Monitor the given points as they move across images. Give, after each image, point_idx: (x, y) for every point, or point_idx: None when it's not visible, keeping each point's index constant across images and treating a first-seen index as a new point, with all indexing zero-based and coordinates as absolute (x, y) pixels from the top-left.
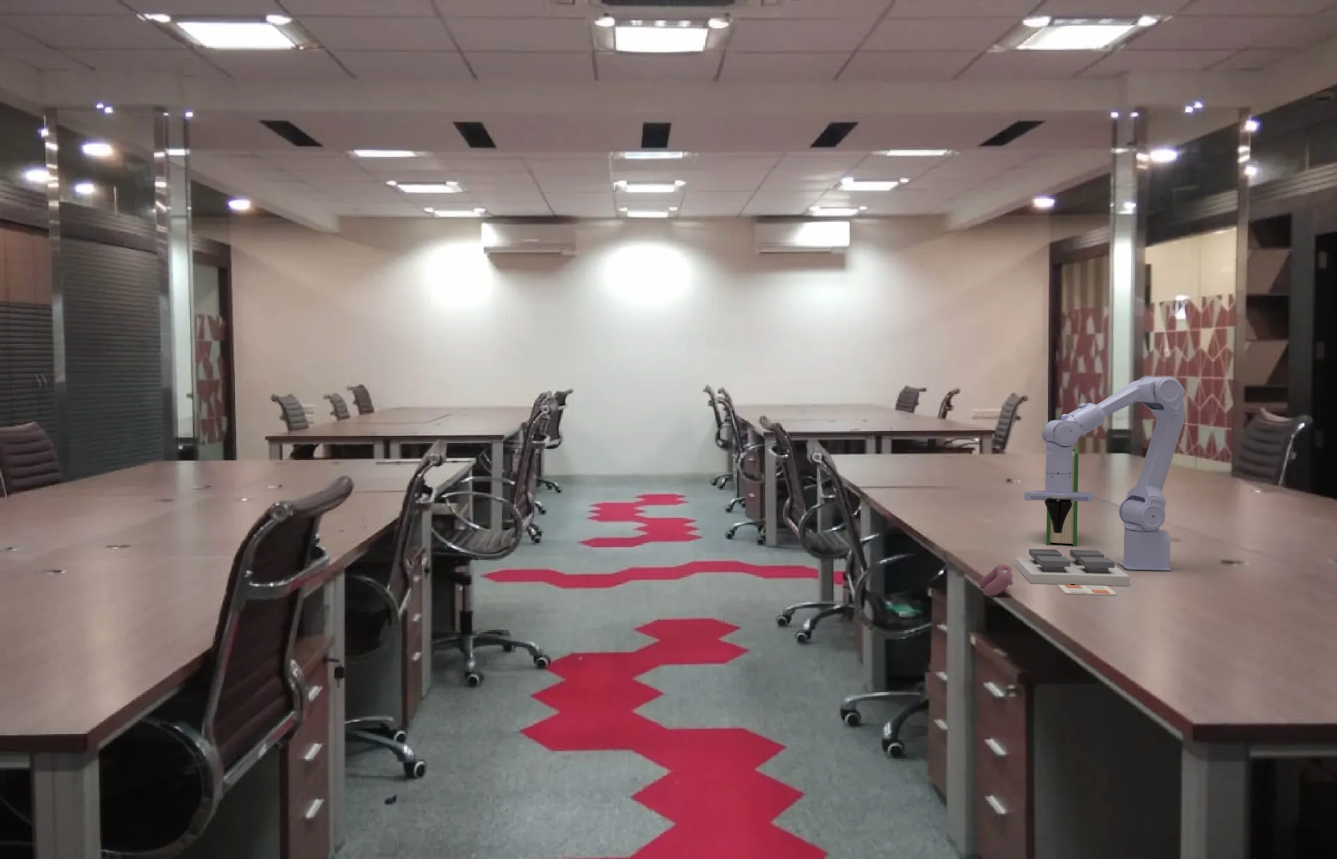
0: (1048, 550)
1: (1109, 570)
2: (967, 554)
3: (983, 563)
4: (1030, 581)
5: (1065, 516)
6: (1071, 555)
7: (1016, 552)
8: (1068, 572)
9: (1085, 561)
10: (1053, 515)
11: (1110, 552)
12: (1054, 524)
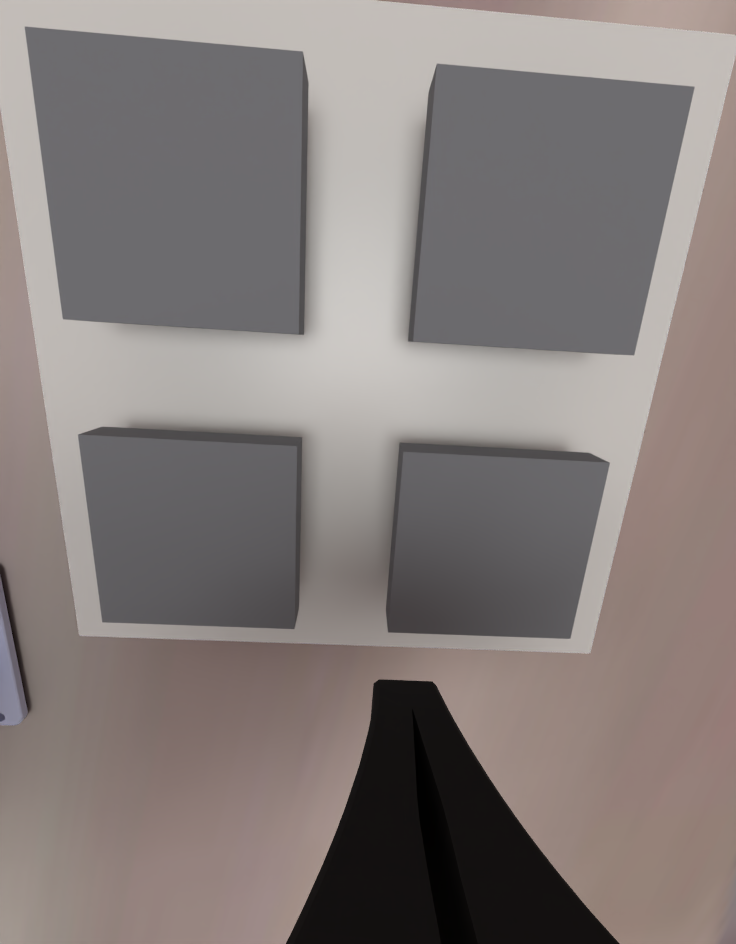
0: (455, 593)
1: None
2: (680, 854)
3: (699, 675)
4: None
5: (340, 856)
6: (299, 568)
7: None
8: None
9: (295, 73)
10: (544, 875)
11: (37, 940)
12: (472, 752)
